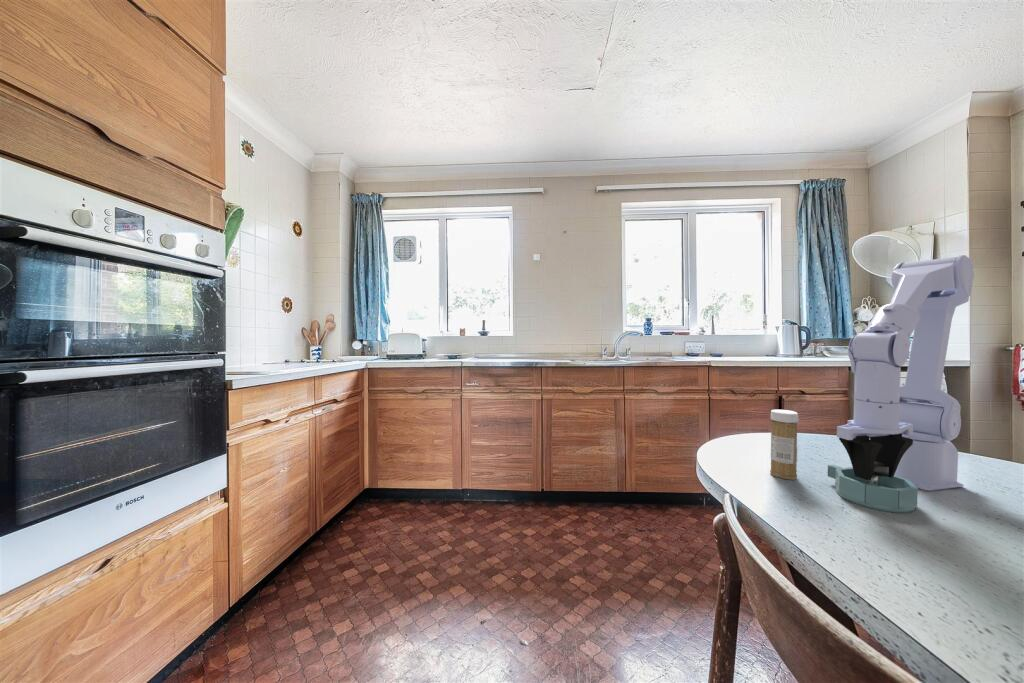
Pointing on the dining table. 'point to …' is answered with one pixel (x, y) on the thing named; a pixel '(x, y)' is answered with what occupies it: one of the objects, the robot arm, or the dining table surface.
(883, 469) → the doorknob
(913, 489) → the teal tabbed tray
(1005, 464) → the dining table surface
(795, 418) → the sprinkles bottle
